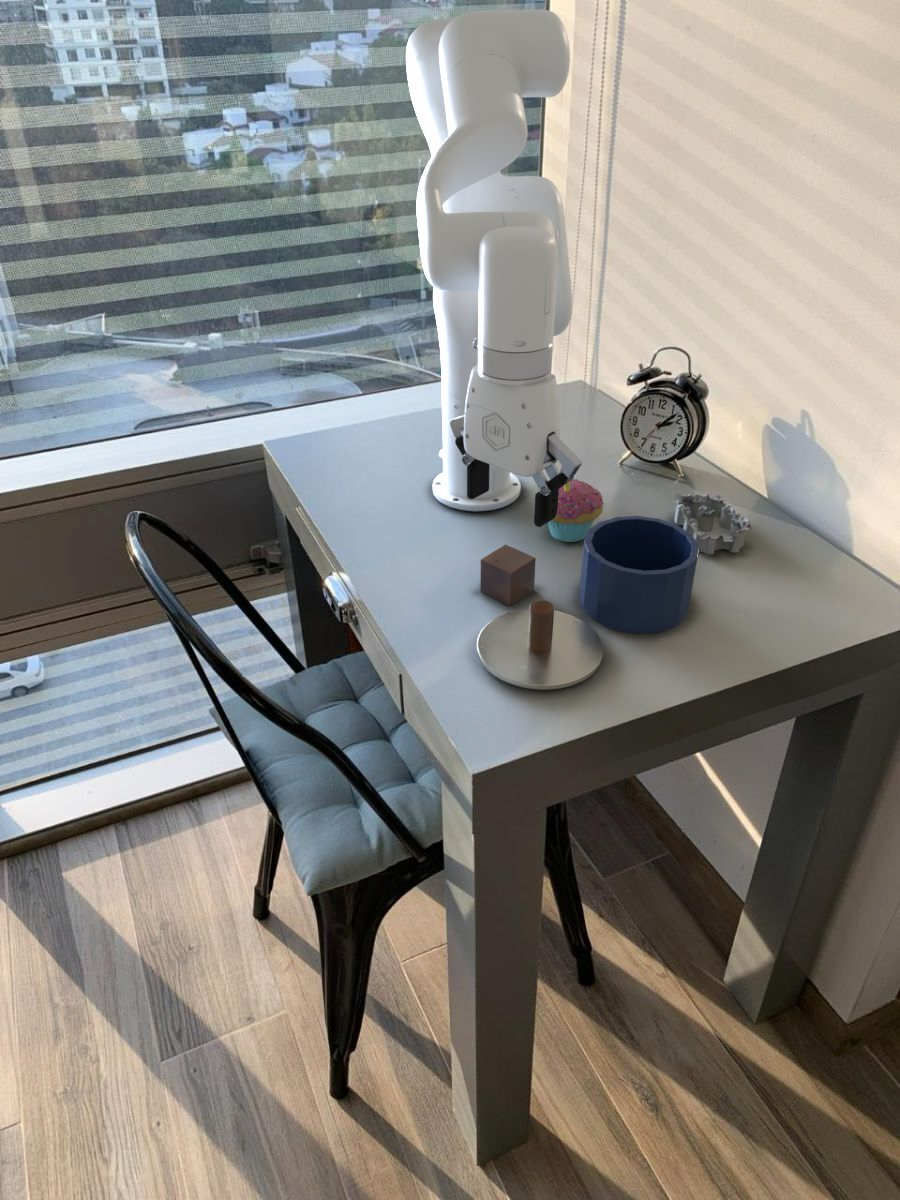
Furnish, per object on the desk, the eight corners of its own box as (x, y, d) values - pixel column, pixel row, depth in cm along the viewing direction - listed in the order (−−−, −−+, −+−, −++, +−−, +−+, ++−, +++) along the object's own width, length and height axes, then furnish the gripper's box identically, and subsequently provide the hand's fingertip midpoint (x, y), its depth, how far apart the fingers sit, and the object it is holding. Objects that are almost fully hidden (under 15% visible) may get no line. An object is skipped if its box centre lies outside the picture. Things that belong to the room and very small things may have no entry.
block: (480, 591, 107) (480, 559, 105) (504, 576, 110) (505, 544, 107) (509, 606, 105) (511, 573, 102) (534, 590, 107) (535, 557, 105)
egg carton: (749, 554, 114) (755, 526, 111) (691, 556, 113) (696, 529, 111) (722, 512, 122) (728, 486, 120) (668, 515, 122) (673, 488, 120)
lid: (455, 637, 100) (454, 592, 96) (557, 604, 105) (560, 560, 101) (517, 710, 90) (519, 662, 86) (627, 669, 95) (633, 622, 91)
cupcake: (583, 556, 113) (590, 471, 107) (524, 538, 117) (527, 455, 110) (610, 527, 119) (619, 444, 113) (553, 511, 123) (558, 430, 116)
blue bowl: (559, 589, 107) (563, 532, 103) (643, 562, 112) (651, 506, 108) (622, 646, 98) (629, 585, 94) (711, 614, 103) (722, 555, 98)
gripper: (428, 350, 93) (431, 496, 103) (561, 389, 84) (551, 546, 93) (475, 333, 98) (474, 474, 107) (607, 368, 88) (593, 520, 98)
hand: (510, 508), depth 100 cm, fingers open, 9 cm apart
